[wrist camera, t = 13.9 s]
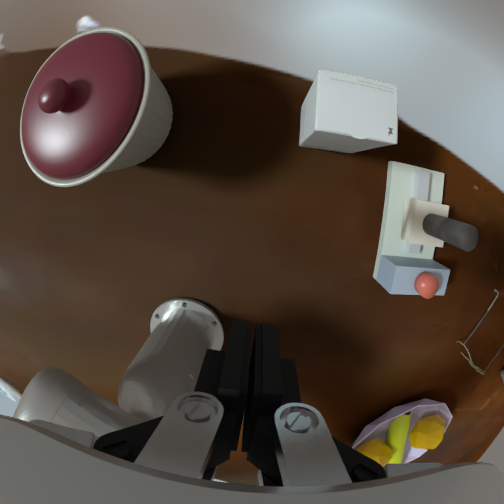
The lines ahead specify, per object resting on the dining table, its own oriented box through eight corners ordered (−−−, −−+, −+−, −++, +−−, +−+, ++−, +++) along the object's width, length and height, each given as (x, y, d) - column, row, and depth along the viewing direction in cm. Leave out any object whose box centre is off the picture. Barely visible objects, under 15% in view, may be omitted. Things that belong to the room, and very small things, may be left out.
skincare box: (355, 114, 36) (401, 84, 20) (352, 157, 37) (401, 147, 22) (298, 105, 36) (318, 64, 21) (295, 148, 37) (315, 131, 22)
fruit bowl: (372, 387, 48) (389, 427, 37) (459, 386, 48) (480, 414, 37) (323, 462, 55) (328, 496, 44) (406, 456, 55) (417, 483, 44)
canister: (174, 192, 40) (95, 208, 19) (79, 171, 39) (-18, 178, 19) (207, 76, 35) (160, 0, 15) (107, 68, 34) (26, 25, 14)
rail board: (422, 279, 41) (443, 295, 35) (372, 276, 42) (390, 293, 35) (439, 173, 37) (464, 174, 30) (388, 161, 37) (410, 159, 30)
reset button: (429, 293, 34) (435, 298, 32) (411, 292, 34) (418, 298, 32) (434, 272, 33) (441, 276, 32) (417, 270, 34) (424, 275, 32)
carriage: (427, 240, 38) (480, 265, 25) (396, 236, 38) (446, 262, 25) (433, 202, 36) (489, 215, 23) (402, 196, 36) (456, 207, 23)
